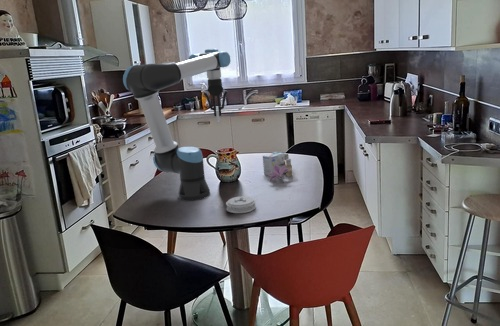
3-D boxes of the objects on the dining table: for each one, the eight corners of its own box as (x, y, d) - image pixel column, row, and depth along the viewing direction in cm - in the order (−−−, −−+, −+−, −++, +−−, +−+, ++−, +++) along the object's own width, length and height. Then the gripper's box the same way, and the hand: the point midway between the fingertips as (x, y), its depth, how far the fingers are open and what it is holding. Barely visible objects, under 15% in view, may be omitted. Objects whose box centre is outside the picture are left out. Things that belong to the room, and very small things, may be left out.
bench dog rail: (292, 176, 226) (291, 159, 223) (286, 176, 226) (285, 160, 223) (289, 168, 241) (288, 153, 239) (284, 169, 241) (283, 153, 239)
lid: (249, 203, 190) (248, 192, 189) (260, 211, 179) (260, 200, 177) (222, 208, 186) (221, 197, 185) (232, 217, 174) (231, 205, 173)
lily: (294, 180, 221) (287, 163, 223) (293, 177, 210) (286, 160, 212) (273, 189, 223) (266, 172, 224) (270, 186, 211) (263, 169, 213)
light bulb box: (276, 170, 240) (275, 151, 238) (285, 171, 235) (284, 152, 233) (263, 174, 233) (262, 155, 231) (272, 176, 228) (270, 156, 226)
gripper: (226, 77, 233) (230, 120, 239) (203, 79, 234) (207, 121, 239) (226, 77, 226) (230, 122, 232) (201, 79, 226) (206, 123, 232)
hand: (218, 121), depth 235 cm, fingers closed
